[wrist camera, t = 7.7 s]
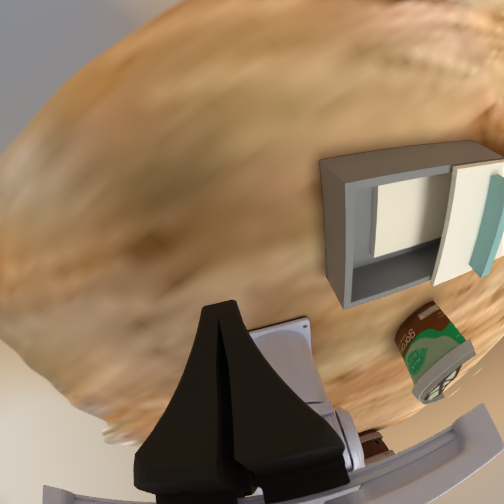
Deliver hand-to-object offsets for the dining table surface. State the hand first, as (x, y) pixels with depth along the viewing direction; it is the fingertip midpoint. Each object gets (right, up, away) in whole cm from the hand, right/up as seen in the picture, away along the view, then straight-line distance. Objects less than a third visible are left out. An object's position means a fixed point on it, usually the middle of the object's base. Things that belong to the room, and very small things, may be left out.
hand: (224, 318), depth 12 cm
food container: (+22, -8, +23) cm, 33 cm away
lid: (+24, +6, +8) cm, 26 cm away
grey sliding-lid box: (+15, +7, +11) cm, 19 cm away
